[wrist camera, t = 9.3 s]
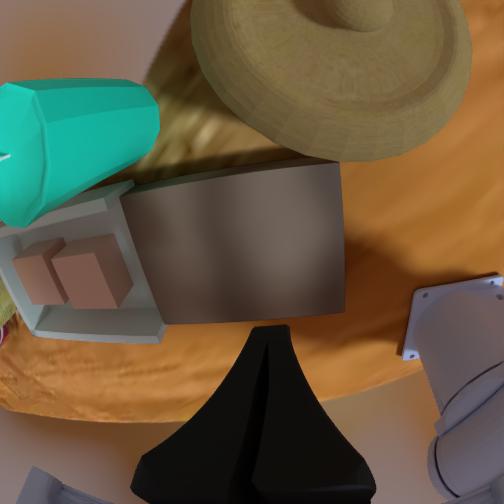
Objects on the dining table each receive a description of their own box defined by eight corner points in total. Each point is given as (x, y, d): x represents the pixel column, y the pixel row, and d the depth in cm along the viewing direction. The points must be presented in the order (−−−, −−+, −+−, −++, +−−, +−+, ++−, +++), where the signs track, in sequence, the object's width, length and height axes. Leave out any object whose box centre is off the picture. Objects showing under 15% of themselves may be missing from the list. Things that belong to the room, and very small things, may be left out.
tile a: (114, 233, 21) (94, 252, 18) (134, 285, 23) (118, 308, 20) (71, 240, 21) (50, 259, 19) (91, 288, 23) (74, 309, 21)
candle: (173, 148, 18) (47, 220, 7) (101, 177, 19) (-25, 259, 9) (145, 64, 15) (-3, 51, 5) (75, 103, 17) (-67, 137, 6)
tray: (133, 179, 19) (103, 197, 16) (175, 310, 24) (160, 343, 21) (10, 215, 21) (-18, 233, 18) (53, 312, 26) (33, 336, 23)
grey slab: (332, 154, 17) (339, 162, 15) (339, 292, 22) (344, 312, 20) (135, 185, 19) (118, 196, 17) (173, 305, 24) (164, 324, 22)
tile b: (62, 237, 21) (41, 254, 19) (82, 284, 23) (65, 304, 21) (31, 243, 22) (11, 260, 19) (50, 286, 24) (33, 304, 21)
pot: (304, -58, 11) (318, -152, 2) (444, 62, 13) (552, 55, 5) (181, 62, 15) (88, 35, 7) (329, 180, 18) (372, 259, 9)
